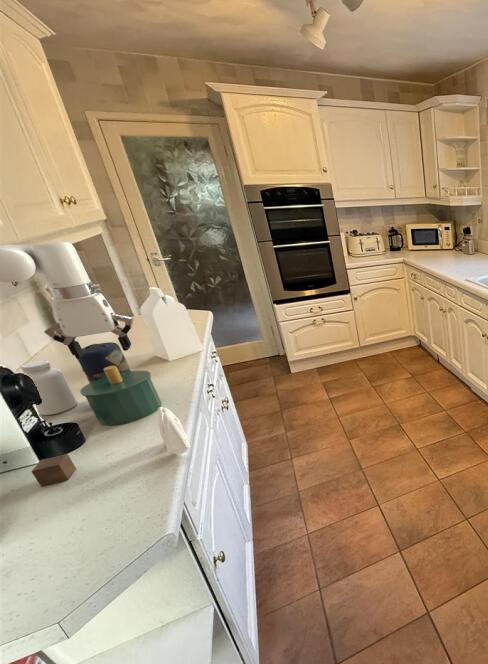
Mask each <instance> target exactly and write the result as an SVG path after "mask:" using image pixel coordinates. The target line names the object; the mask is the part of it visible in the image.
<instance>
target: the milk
mask: <svg viewBox="0 0 488 664" xmlns="http://www.w3.org/2000/svg"><path fill="white" fill-rule="evenodd" d="M148 291H149V296H147V298H146V300H144V302H143V303H142V305H141V306H140V308H139V312H140V316H141V318H142V321H143V324H144V326H145V330H146V332H147V335H148V338H149V341H150V344H151V346H152V349H153V352H154V354H155V356H157V357H159V358H162V359H163V360H166V361H169V362H172V361H175V360H178V359H181V358H185V357H187V356H190V355H194V354H197V353H200V352H202V351H204V350H205V349H204V346H203V344H202V341H201V340H200V337H199V335H198V333H197V330H196V328H195V326H194V323H193V320H192V318H191V316H190V314H189V311H188V310H187V307H186V306H185V305H184V304H183V303H181V302H179V301H177V300H175V298H174V297H173V296H170V295H168V294H164V292H163V291H162V289H161V288H160V287H155V286H151V287H150V286H149V287H148Z"/></svg>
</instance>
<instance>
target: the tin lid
mask: <svg viewBox="0 0 488 664" xmlns="http://www.w3.org/2000/svg"><path fill="white" fill-rule="evenodd" d="M103 370H104V372H105V374H106V376H107V377H104V378H101V379H98V380H96V381H93V382H91V383H89V382H88V383H87V384H86V385H84V386H83V387H82V388H81V389H80V391H79V392H80V394H81V395H82V396H83V397H85V396H86V397H98V396H105V395H111V394H115V393H119V392H122V391H126V390H129V389H131V388H134V387H136V386H139V385H141V384H143V383H144V382H146V381H147V380H149V379H150V378H151V377H152V374H151V372H150V371H149V370H143V369H142V370H131V371H128V372H122V373H119V371H118V369H117V367H116V366H109V367H106V368H104V369H103ZM86 397H85V398H86Z"/></svg>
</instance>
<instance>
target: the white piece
mask: <svg viewBox="0 0 488 664" xmlns="http://www.w3.org/2000/svg"><path fill="white" fill-rule="evenodd" d="M157 417H158V427H159V434H160V436H161V439H162V441H163V443H164V446H165V448H166V451H167V453H168V454H169V455H176V456H180V455H182V454H184V453H186V452H187V451H189V450H190V448H191V446H190V443H189V440H188V437H187V434H186V432H185V430H184V428H183V425H182V423H181V421H180V419H179V418H178V416H177V415H175V414H174V413H173V412H172V411H171V410H170V409H168V408H167V407H163V406H161V407H159V408H158V410H157Z"/></svg>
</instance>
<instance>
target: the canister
mask: <svg viewBox="0 0 488 664" xmlns="http://www.w3.org/2000/svg"><path fill="white" fill-rule="evenodd" d="M81 348H82V350H83V352H84V355H83V356H82V357H81V358H79V359H76V360H77V362H78V363H79V364H80V367H81V369H82V372H83V373H84V374H85V377H86V379H87V381H88V384H89V383H91V382H93V381H96V380H98V379H101V378H104V377H107V376H106V374H105V372H104V370H103V369H104V368H106V367H109V366H116V367H117V369H118V371H119V373H122V372H128V371H132V369H131V368H130V365H129V363H128V361H127V359H126V357H125V355H124V353H123V350H122V349H121V346H120V345H119V344H118V343H116V342H100V343H92V344H89V345H87V346H85V347H81Z"/></svg>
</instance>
